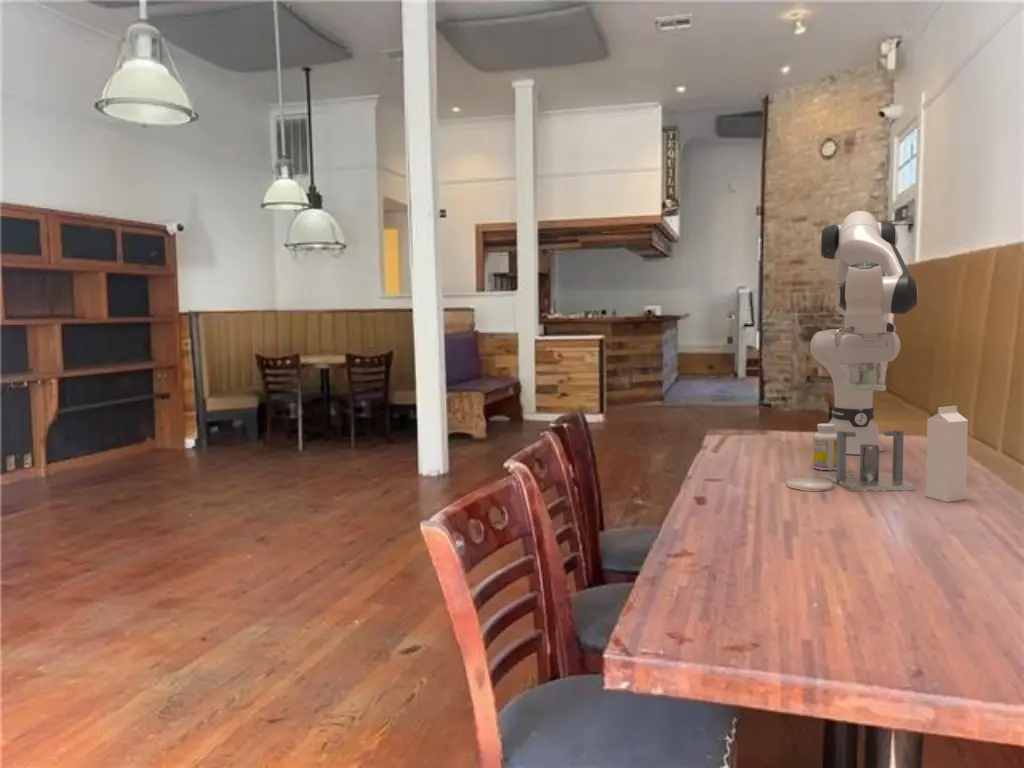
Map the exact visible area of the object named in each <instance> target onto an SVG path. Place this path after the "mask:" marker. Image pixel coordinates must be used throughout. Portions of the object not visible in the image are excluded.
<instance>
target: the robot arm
mask: <svg viewBox="0 0 1024 768" xmlns="http://www.w3.org/2000/svg"><path fill="white" fill-rule="evenodd" d="M898 240H899V234H898V230H897V229H896V225H895V224H893V222H890V221H885V220H884V221H882V220H881V221H880V222H879V221H877V220H876V218H875V216H874V215H873V214H872V213H870V212H868V211H866V210H857V211H853V212H851V213H850V214H848V215H847V216H845V217H844V219H843V221H842V223H841V224H831V225H828V226H825V227H824V228H823V229H822V230H821V232H820V234H819V236H818V240H817V247H818V251H819V253H820V255H821V257H822V258H824V259H827V260H836V259H837V260H839V262H838V265H837V273H836V282H835V283H836V286H835V307H836V311H837V312H838V314H839V315H842V316H844V327H839V328H831V329H827V330H825V329H824V330H821V331H817V332H816V333H815V334H814V335H813V337H812V338H811V341H810V345H809V350H810V353H811V355H812V356H811V357H813V358H814V360H815V361H817V363H820V364H821V365H822V366H823V368H825V369H826V370H827V372H828V373H829V375H830V377H831V381H832V383H833V394H834V406H833V407H832V410H831V419H830V420H829V422H828V423H827V424H834V425H835V430H834V432H835V433H836V434H837V431H844V432H855V433H856V437H846V455H860V445H863V444H872V445H878V446H879V452H883V451H884V447H883V446H880V435H879V425H878V424H877V423H876V422H875V421H874V419H875V408H874V407H873V403H874V402H873V401H874V399H873V397H874V390H872V391H858V390H850V388H841V383H850V372H851V374H852V381H854V382H859V381H862V375H861V374H860V373H859V370H860V369H861V368H860V365H861V364H865V367H866V370H877V367H878V364H881V363H888V362H892V361H894V360H895V359H896V358H897V357H898V356H899V353H900V351H901V347H902V346H901V340H900V338H899V335H898V334H897V333H896V330H897V326H896V324H894V323H892V322H890V321H888V320H886V319H884V314H893V315H906V314H907V313H909V312H910V311H912V310H913V309H915V307H917V305H918V301H919V289H918V284H917V282H916V280H915V279H914V277H912V276H911V274H910V273H909V270H908V268H907V266H906V264H905V261H904V259H903V257H902V255H901V254H900V251H899V250H898V248H897V245H898V242H899V241H898ZM883 272H884V273H886V274H887V275H886V276H883ZM859 368H860V369H859ZM858 369H859V370H858Z"/></svg>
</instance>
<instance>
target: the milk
mask: <svg viewBox="0 0 1024 768" xmlns="http://www.w3.org/2000/svg"><path fill="white" fill-rule="evenodd" d="M926 426H927V427H926V461H925V463H926V465H925V466H926V467H925V497H926V498H930V499H933V500H937V501H942V502H945V503H952V502H957V501H963V500H966V499H967V469H968V468H967V467H968V465H967V464H968V438H969V437H968V436H969V435H968V433H969V430H968V429H969V427H968V426H969V420H968V419H967V418H965V417H964V416H963V415H962V414H961V413H959V412H958V406H957V405H950V406H949V405H948V406H939V407H938V411H937V413H936V414H934V415H933V416H931V417H929V418H927V423H926Z"/></svg>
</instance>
